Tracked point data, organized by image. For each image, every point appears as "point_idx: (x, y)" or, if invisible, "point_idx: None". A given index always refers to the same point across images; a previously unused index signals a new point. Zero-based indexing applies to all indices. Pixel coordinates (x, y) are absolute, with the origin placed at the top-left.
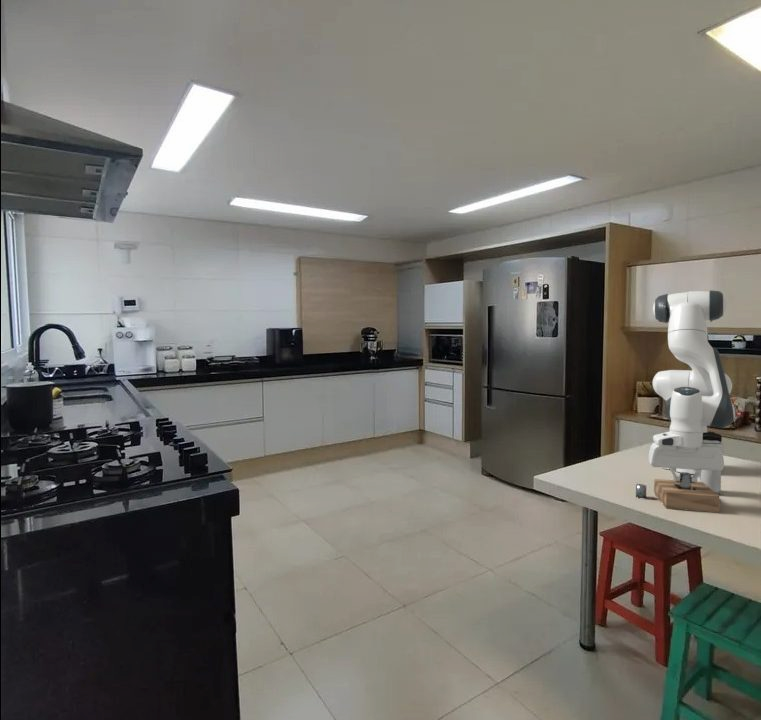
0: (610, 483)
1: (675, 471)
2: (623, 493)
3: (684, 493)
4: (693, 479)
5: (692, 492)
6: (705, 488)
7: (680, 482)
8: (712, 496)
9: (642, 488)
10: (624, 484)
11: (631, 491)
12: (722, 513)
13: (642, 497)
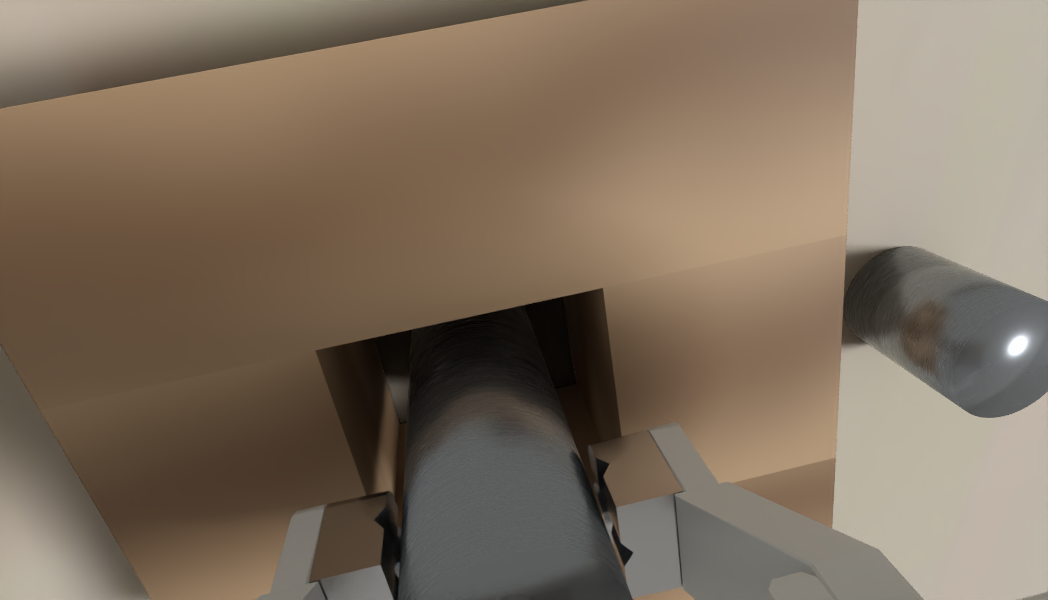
0: (1039, 564)
1: (784, 577)
2: None
3: (540, 29)
4: (350, 543)
5: (390, 167)
6: (183, 501)
7: (576, 447)
8: (25, 108)
9: (1000, 296)
10: (928, 592)
11: (929, 436)
12: (26, 84)
13: (906, 252)
